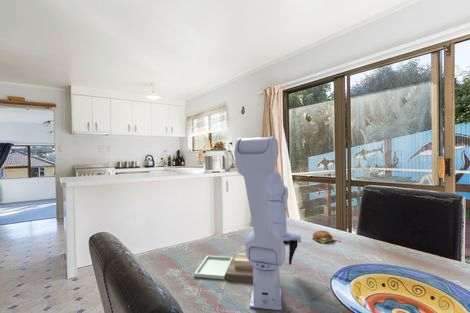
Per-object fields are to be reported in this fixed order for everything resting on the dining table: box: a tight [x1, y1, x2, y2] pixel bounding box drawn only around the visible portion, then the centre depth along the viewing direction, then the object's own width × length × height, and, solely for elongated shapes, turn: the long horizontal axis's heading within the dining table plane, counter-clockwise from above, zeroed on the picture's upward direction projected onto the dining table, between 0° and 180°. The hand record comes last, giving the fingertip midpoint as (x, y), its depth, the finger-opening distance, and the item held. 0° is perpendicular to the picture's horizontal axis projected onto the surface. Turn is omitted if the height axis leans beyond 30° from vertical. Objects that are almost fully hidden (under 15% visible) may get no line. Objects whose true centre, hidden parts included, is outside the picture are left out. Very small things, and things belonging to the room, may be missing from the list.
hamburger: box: [311, 229, 342, 244], centre depth 108 cm, size 14×14×6 cm
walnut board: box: [225, 254, 253, 283], centre depth 81 cm, size 14×9×2 cm, turn 169°
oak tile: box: [234, 252, 253, 269], centre depth 81 cm, size 6×6×2 cm
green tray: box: [193, 255, 234, 280], centre depth 83 cm, size 14×10×1 cm
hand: (278, 262), depth 79 cm, fingers open, 7 cm apart
